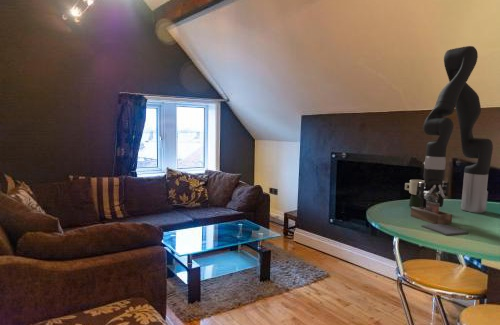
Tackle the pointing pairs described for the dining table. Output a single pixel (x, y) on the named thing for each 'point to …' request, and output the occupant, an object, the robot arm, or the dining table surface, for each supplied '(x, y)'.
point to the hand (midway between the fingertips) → (431, 207)
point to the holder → (431, 216)
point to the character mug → (413, 193)
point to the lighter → (432, 204)
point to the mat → (444, 229)
